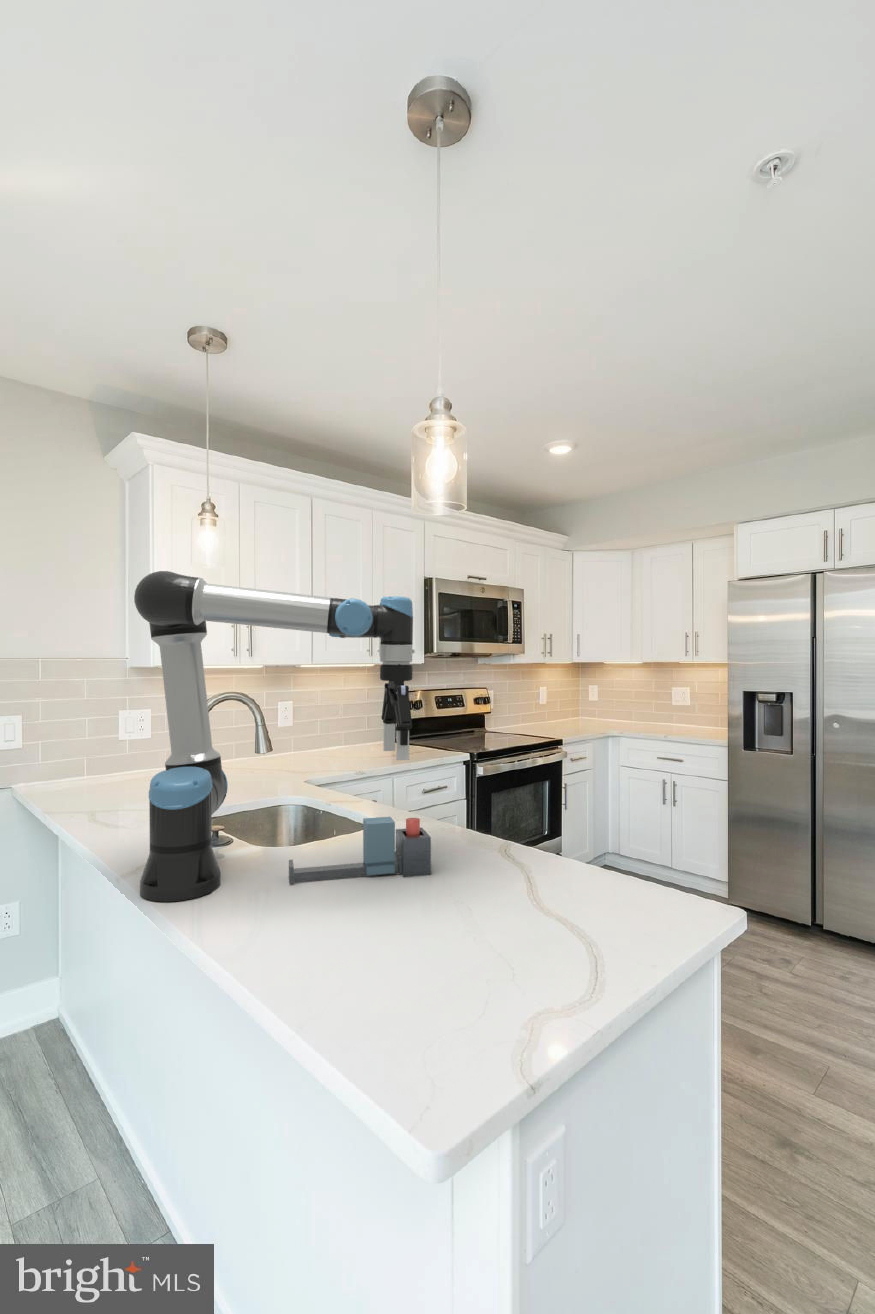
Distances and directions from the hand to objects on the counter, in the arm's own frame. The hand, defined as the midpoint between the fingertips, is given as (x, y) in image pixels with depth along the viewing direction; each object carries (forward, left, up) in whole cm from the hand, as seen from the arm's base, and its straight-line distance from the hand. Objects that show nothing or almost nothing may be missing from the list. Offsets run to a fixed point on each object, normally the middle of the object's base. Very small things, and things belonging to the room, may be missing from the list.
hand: (395, 755), depth 149 cm
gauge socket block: (+2, -10, -24) cm, 26 cm away
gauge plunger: (+2, -10, -19) cm, 21 cm away
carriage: (-6, -10, -23) cm, 26 cm away
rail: (-13, -10, -24) cm, 29 cm away
